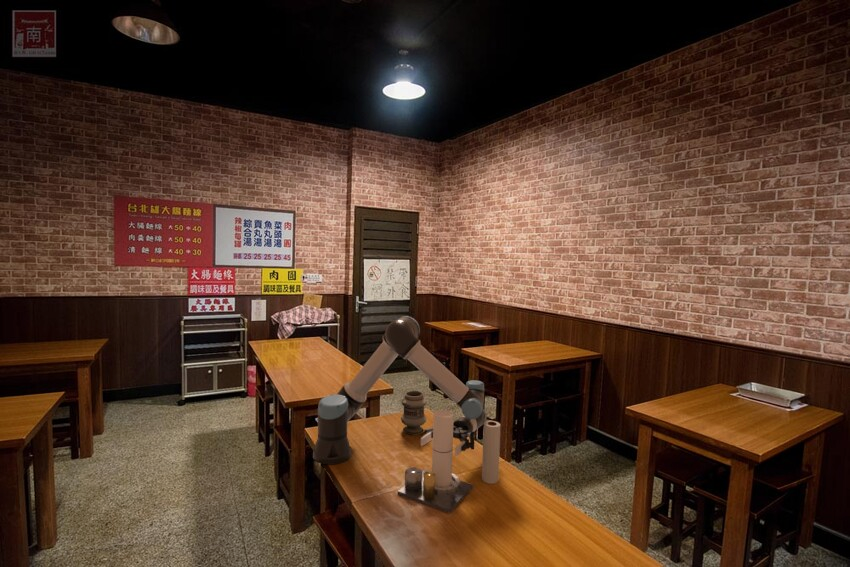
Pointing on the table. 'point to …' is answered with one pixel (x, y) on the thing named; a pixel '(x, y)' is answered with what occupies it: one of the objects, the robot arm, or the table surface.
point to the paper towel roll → (491, 451)
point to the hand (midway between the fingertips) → (438, 446)
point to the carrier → (433, 490)
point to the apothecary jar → (413, 412)
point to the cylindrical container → (442, 448)
